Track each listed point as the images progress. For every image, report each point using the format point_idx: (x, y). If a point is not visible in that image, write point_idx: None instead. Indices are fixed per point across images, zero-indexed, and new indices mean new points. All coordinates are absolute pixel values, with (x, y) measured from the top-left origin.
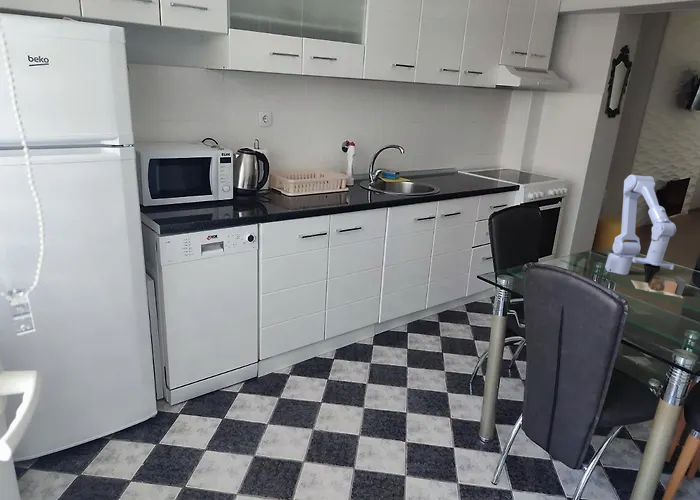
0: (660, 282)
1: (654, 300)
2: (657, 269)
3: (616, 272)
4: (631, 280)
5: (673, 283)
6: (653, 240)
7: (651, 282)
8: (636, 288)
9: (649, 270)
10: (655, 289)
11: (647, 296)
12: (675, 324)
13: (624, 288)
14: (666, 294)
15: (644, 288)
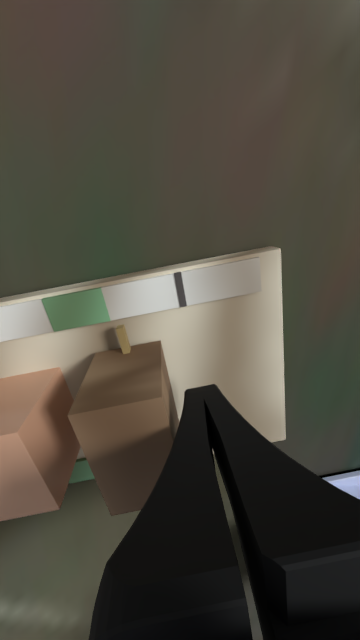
0: (80, 400)
1: (112, 87)
2: (150, 584)
3: (358, 497)
4: (283, 430)
5: None
6: None
7: (167, 391)
8: (277, 255)
9: (281, 496)
10: (120, 326)
11: (176, 178)
12: None
13: (347, 252)
14: (24, 300)
15: (206, 316)
